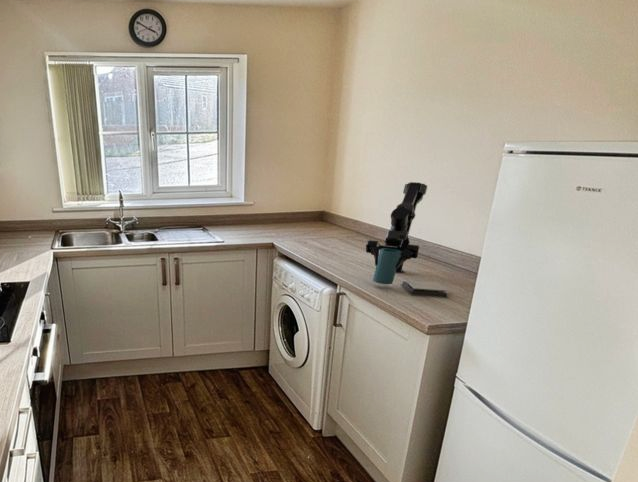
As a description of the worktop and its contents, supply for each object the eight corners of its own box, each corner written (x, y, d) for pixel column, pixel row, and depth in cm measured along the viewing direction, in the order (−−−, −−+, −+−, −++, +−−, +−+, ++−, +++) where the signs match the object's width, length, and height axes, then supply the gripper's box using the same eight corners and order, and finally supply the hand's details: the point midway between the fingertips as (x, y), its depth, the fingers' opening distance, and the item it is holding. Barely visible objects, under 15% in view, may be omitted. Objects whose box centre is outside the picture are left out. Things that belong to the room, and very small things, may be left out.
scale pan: (405, 281, 186) (406, 280, 186) (436, 283, 183) (436, 282, 183) (413, 289, 176) (414, 288, 176) (445, 291, 174) (446, 290, 174)
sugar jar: (371, 278, 189) (379, 247, 184) (390, 279, 188) (398, 249, 182) (374, 283, 183) (382, 251, 178) (394, 285, 181) (403, 253, 176)
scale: (401, 284, 189) (402, 280, 188) (434, 286, 186) (435, 283, 185) (411, 294, 177) (412, 290, 176) (446, 297, 174) (447, 293, 173)
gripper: (371, 220, 184) (360, 252, 180) (425, 224, 174) (414, 258, 170) (371, 236, 193) (360, 267, 189) (422, 241, 183) (412, 274, 179)
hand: (386, 266), depth 181 cm, fingers closed on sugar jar, 7 cm apart
